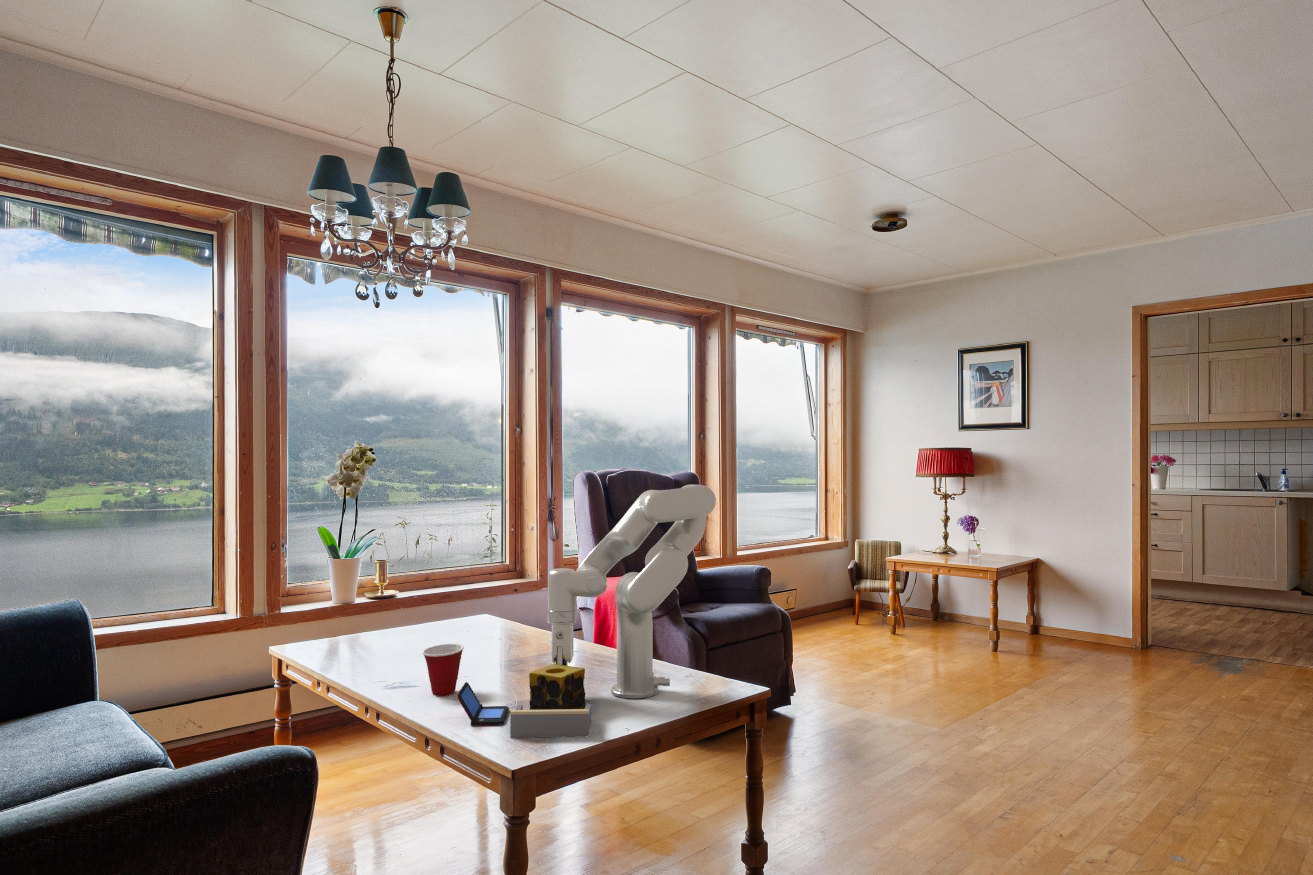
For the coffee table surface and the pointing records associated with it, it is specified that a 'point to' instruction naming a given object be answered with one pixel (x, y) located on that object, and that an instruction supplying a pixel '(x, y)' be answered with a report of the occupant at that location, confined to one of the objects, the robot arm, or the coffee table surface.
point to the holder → (550, 722)
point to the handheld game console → (480, 709)
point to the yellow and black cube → (557, 688)
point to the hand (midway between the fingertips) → (561, 687)
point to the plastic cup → (443, 667)
